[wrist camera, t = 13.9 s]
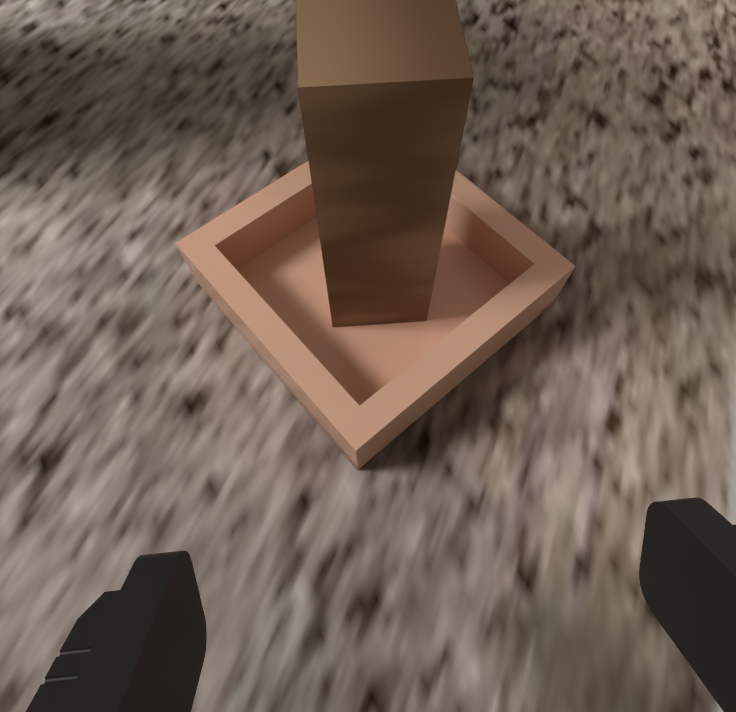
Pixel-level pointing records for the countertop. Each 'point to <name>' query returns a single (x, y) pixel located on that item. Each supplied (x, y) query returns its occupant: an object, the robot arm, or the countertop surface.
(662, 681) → the countertop surface
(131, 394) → the countertop surface
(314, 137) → the tall wooden block
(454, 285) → the shallow salmon tray
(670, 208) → the countertop surface
